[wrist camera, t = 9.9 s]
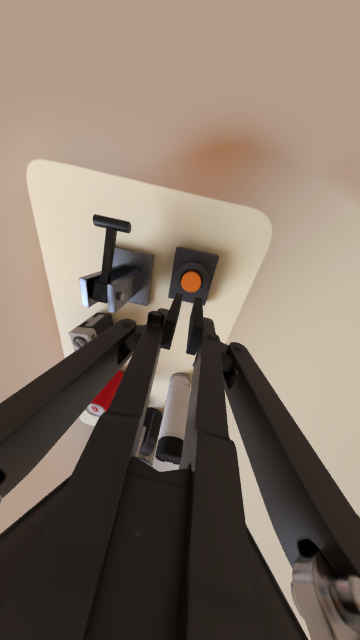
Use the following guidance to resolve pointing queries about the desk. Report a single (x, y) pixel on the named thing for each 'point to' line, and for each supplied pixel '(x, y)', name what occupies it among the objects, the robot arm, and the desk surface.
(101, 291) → the switch lever
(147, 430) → the milk frother
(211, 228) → the desk surface
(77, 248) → the desk surface
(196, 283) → the button
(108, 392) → the beverage can
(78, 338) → the camera
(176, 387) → the travel mug
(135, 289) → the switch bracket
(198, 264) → the control block
